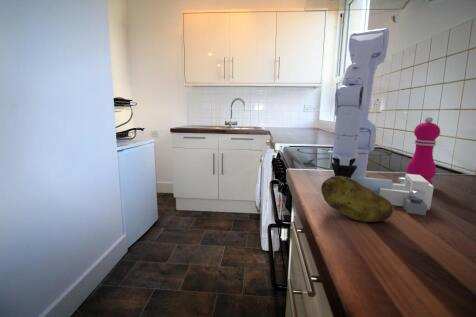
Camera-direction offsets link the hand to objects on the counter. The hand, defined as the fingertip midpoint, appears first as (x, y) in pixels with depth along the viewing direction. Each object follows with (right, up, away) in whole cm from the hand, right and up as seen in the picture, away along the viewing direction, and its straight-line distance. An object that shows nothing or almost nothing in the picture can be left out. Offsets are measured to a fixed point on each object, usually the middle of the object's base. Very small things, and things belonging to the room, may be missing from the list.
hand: (341, 187), depth 66 cm
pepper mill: (+27, -1, +10) cm, 29 cm away
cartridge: (+5, -2, -2) cm, 5 cm away
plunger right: (+12, -4, -11) cm, 16 cm away
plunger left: (+16, -2, 0) cm, 16 cm away
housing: (+12, -3, -4) cm, 13 cm away
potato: (-3, -5, -14) cm, 15 cm away
